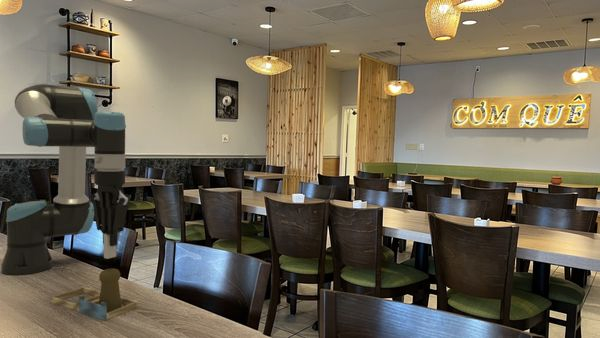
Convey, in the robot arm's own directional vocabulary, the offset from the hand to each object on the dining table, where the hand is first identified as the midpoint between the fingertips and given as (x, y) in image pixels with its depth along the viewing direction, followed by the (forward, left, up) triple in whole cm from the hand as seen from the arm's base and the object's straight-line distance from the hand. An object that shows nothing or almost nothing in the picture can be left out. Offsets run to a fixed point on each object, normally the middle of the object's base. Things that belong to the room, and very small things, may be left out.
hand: (110, 257), depth 114 cm
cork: (0, 0, -15) cm, 15 cm away
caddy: (-7, 0, -14) cm, 16 cm away
